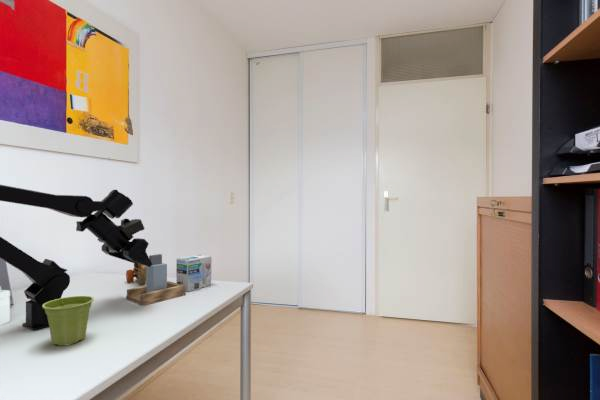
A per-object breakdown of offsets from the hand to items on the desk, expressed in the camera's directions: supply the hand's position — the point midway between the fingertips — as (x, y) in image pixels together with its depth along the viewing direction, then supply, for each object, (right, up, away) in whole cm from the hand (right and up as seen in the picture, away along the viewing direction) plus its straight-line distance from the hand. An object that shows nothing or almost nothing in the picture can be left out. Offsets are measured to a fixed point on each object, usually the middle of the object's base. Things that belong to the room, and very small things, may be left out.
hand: (143, 263), depth 104 cm
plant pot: (-3, -12, -30) cm, 32 cm away
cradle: (+3, -11, +3) cm, 12 cm away
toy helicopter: (-9, -11, +20) cm, 25 cm away
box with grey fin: (+3, -10, +3) cm, 11 cm away
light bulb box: (+11, -11, +15) cm, 22 cm away
